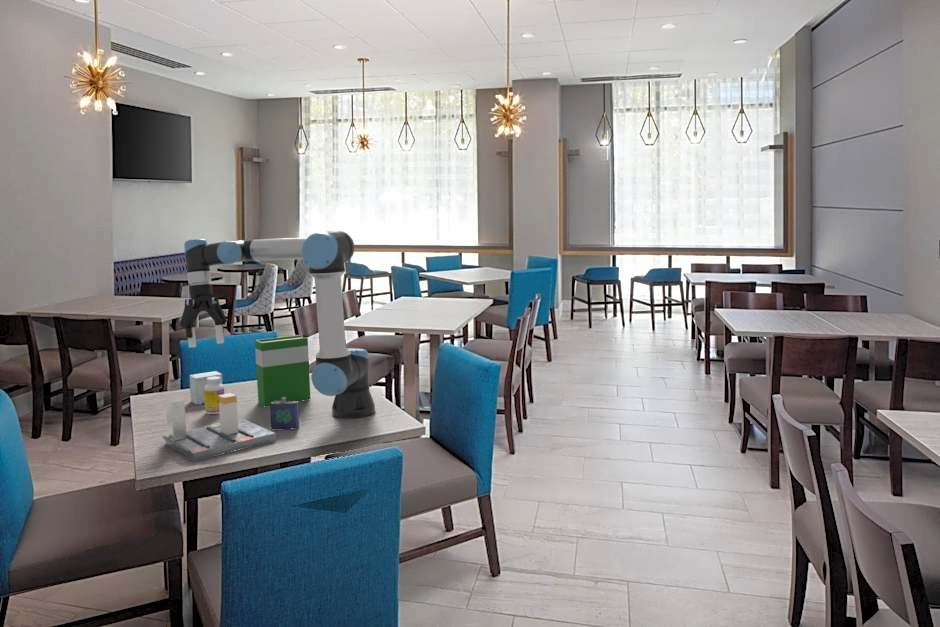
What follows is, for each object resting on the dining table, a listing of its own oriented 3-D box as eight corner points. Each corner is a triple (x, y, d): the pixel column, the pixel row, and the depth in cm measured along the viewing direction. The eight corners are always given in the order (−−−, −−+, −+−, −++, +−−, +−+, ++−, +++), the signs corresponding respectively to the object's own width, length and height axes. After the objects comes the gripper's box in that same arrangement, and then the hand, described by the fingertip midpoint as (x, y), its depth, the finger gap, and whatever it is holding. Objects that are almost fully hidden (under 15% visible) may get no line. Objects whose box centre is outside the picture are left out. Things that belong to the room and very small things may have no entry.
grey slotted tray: (160, 444, 229) (157, 399, 227) (242, 425, 247) (240, 383, 245) (191, 462, 212) (187, 414, 210) (276, 441, 231) (274, 396, 228)
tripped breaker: (220, 432, 232) (218, 395, 230) (232, 429, 235) (230, 392, 233) (226, 435, 229) (223, 397, 227) (238, 432, 232) (236, 395, 230)
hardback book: (303, 395, 285) (300, 334, 282) (310, 399, 279) (307, 337, 275) (258, 402, 275) (254, 340, 272) (264, 407, 269) (261, 343, 266)
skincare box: (196, 405, 273) (195, 377, 272) (190, 401, 278) (188, 374, 276) (224, 400, 280) (222, 373, 278) (217, 396, 285) (215, 370, 283)
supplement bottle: (219, 415, 259) (216, 380, 257) (202, 415, 260) (199, 379, 258) (229, 410, 265) (226, 376, 264) (212, 409, 267) (210, 375, 265)
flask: (299, 426, 246) (298, 395, 244) (298, 429, 243) (296, 397, 241) (271, 427, 245) (269, 396, 243) (270, 430, 242) (268, 398, 240)
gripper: (216, 284, 267) (223, 342, 267) (164, 286, 244) (171, 349, 244) (233, 282, 264) (239, 341, 264) (181, 284, 241) (189, 348, 241)
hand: (207, 345), depth 254 cm, fingers open, 13 cm apart
